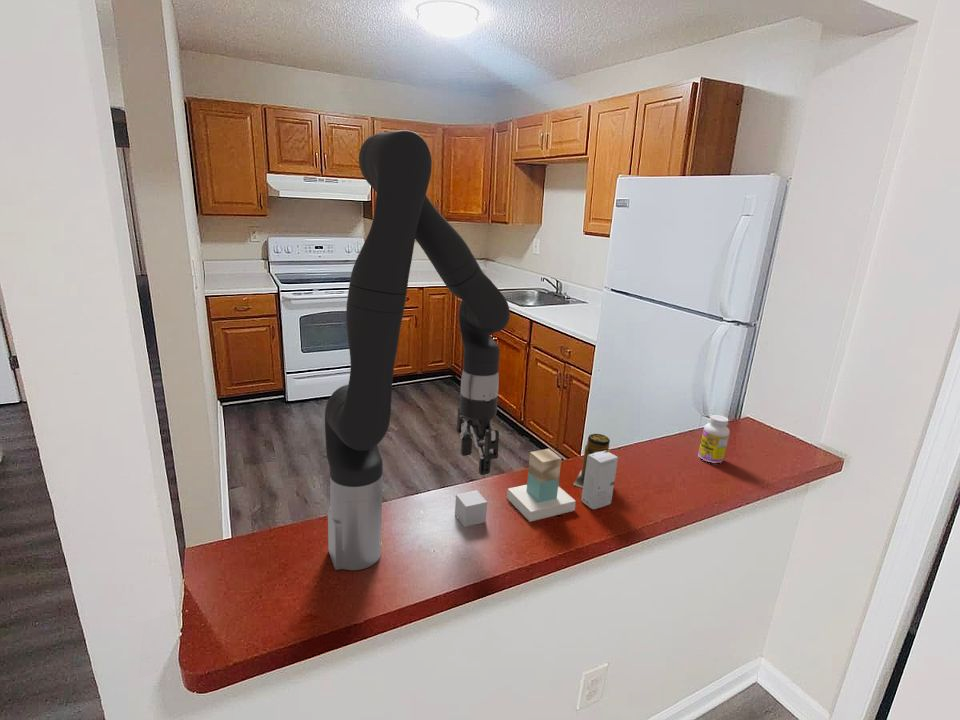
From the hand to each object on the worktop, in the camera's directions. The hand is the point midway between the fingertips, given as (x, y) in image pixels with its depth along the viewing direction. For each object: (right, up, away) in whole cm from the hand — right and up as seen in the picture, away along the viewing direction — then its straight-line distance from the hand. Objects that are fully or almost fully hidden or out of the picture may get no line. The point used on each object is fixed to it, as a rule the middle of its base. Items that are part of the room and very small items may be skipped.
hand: (474, 464), depth 110 cm
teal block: (+15, -9, +10) cm, 20 cm away
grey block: (-1, -12, +4) cm, 13 cm away
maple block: (+15, -4, +9) cm, 18 cm away
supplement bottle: (+66, -7, +39) cm, 77 cm away
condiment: (+29, -9, +22) cm, 38 cm away
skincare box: (+28, -12, +13) cm, 33 cm away
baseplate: (+15, -11, +11) cm, 22 cm away
